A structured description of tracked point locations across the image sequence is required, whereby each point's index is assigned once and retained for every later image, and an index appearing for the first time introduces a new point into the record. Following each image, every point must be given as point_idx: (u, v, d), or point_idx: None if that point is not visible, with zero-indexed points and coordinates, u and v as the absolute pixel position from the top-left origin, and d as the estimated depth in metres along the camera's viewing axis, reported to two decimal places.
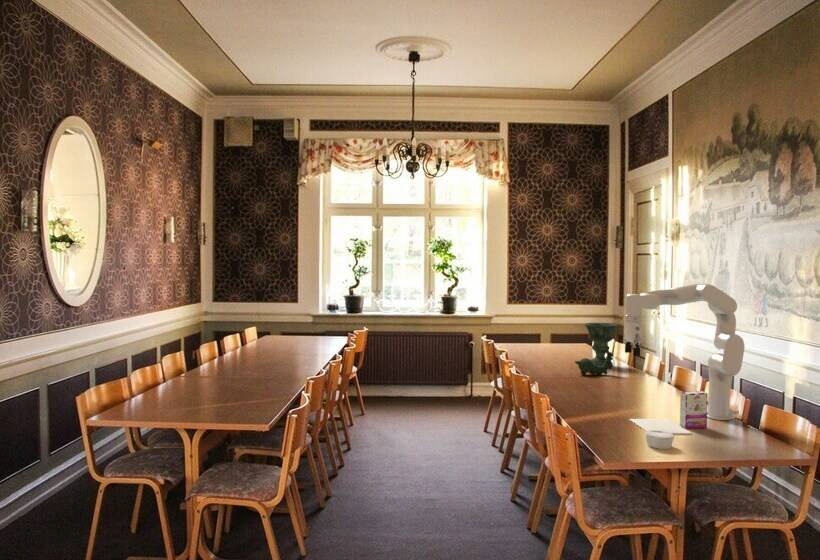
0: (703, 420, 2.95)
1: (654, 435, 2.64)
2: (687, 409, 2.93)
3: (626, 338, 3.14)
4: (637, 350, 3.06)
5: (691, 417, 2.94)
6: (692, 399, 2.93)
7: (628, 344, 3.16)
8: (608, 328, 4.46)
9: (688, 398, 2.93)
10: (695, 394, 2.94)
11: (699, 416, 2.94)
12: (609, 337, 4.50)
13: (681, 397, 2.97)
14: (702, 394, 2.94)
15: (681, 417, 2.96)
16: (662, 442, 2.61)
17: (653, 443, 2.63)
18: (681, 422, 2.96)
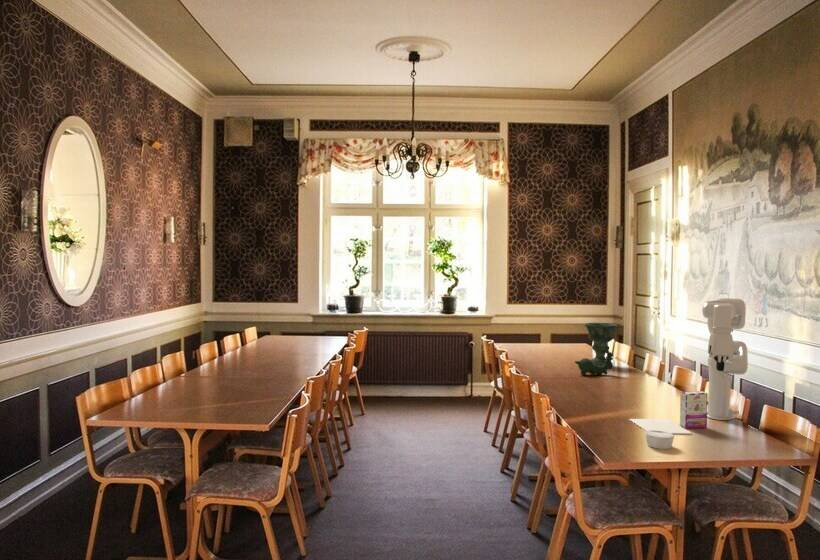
0: (703, 420, 2.95)
1: (654, 435, 2.64)
2: (687, 409, 2.93)
3: (718, 352, 2.93)
4: None
5: (691, 417, 2.94)
6: (692, 399, 2.93)
7: None
8: (608, 328, 4.46)
9: (688, 398, 2.93)
10: (695, 394, 2.94)
11: (699, 416, 2.94)
12: (609, 337, 4.50)
13: (681, 397, 2.97)
14: (702, 394, 2.94)
15: (681, 417, 2.96)
16: (662, 442, 2.61)
17: (653, 443, 2.63)
18: (681, 422, 2.96)
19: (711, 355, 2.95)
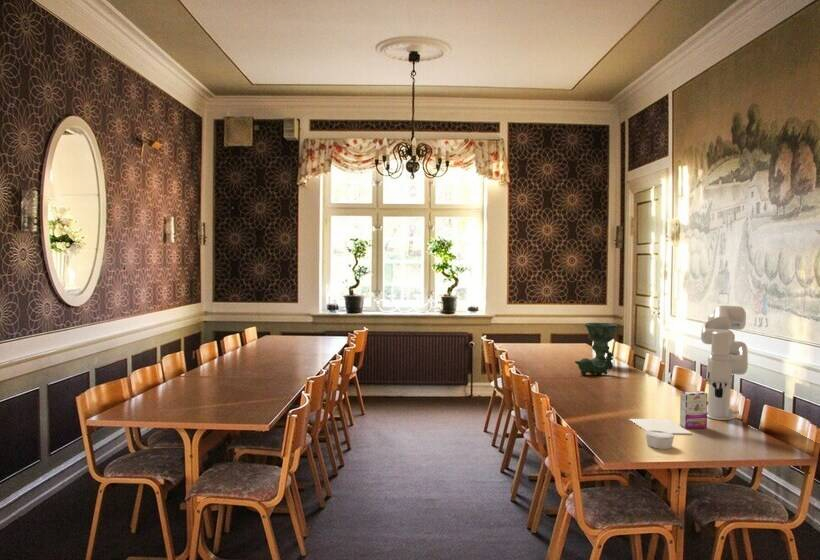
0: (703, 420, 2.95)
1: (654, 435, 2.64)
2: (687, 409, 2.93)
3: (716, 379, 2.94)
4: None
5: (691, 417, 2.94)
6: (692, 399, 2.93)
7: None
8: (608, 328, 4.46)
9: (688, 398, 2.93)
10: (695, 394, 2.94)
11: (699, 416, 2.94)
12: (609, 337, 4.50)
13: (681, 397, 2.97)
14: (702, 394, 2.94)
15: (681, 417, 2.96)
16: (662, 442, 2.61)
17: (653, 443, 2.63)
18: (681, 422, 2.96)
19: (709, 382, 2.96)
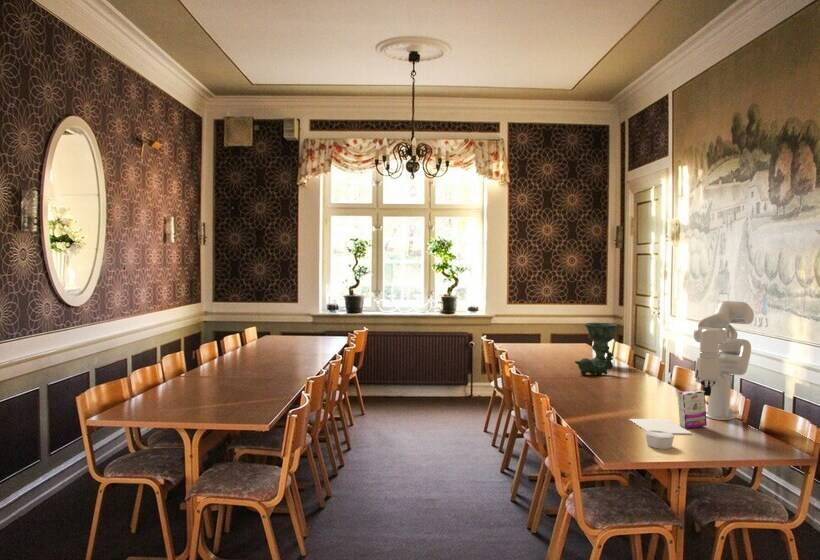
0: (703, 419, 2.95)
1: (654, 435, 2.64)
2: (685, 409, 2.93)
3: (705, 377, 2.93)
4: None
5: (690, 417, 2.93)
6: (690, 399, 2.93)
7: None
8: (608, 328, 4.46)
9: (685, 398, 2.93)
10: (692, 393, 2.93)
11: (698, 415, 2.94)
12: (609, 337, 4.50)
13: (678, 397, 2.96)
14: (699, 393, 2.94)
15: (680, 417, 2.96)
16: (662, 442, 2.61)
17: (653, 443, 2.63)
18: (681, 422, 2.96)
19: (698, 380, 2.95)
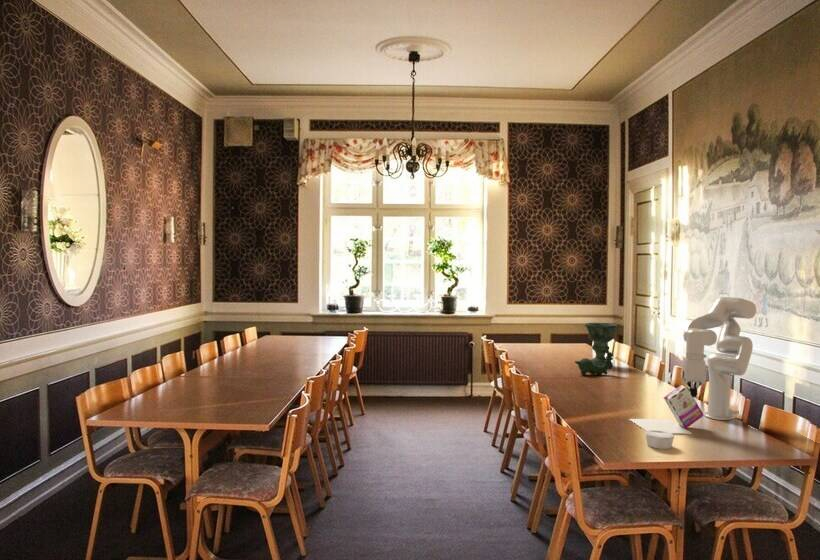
0: (697, 411, 2.94)
1: (654, 435, 2.64)
2: (677, 411, 2.92)
3: (691, 378, 2.93)
4: None
5: (684, 416, 2.93)
6: (677, 400, 2.92)
7: None
8: (608, 328, 4.46)
9: (672, 402, 2.92)
10: (677, 394, 2.92)
11: (692, 410, 2.94)
12: (609, 337, 4.50)
13: (666, 402, 2.96)
14: (683, 390, 2.93)
15: (676, 419, 2.96)
16: (662, 442, 2.61)
17: (653, 443, 2.63)
18: (679, 423, 2.96)
19: (684, 381, 2.95)
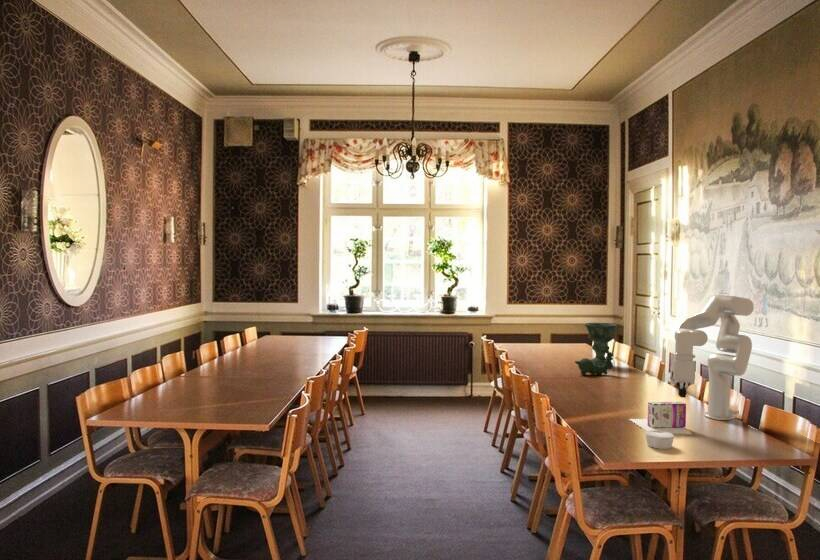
0: (679, 407, 2.93)
1: (654, 435, 2.64)
2: (667, 426, 2.92)
3: (680, 379, 2.93)
4: None
5: (675, 422, 2.92)
6: (658, 421, 2.91)
7: None
8: (608, 328, 4.46)
9: (656, 426, 2.91)
10: (653, 417, 2.91)
11: (674, 412, 2.92)
12: (609, 337, 4.50)
13: None
14: (653, 410, 2.91)
15: None
16: (662, 442, 2.61)
17: (653, 443, 2.63)
18: None
19: (673, 381, 2.95)
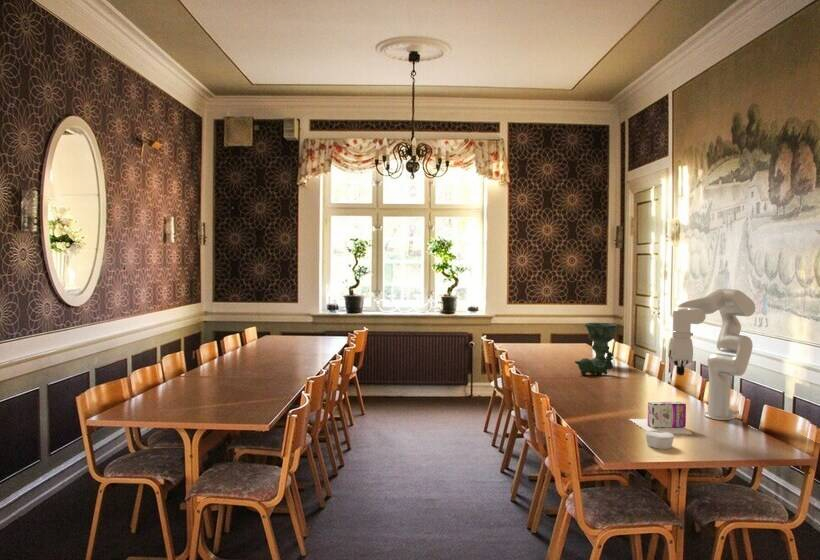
0: (679, 407, 2.93)
1: (654, 435, 2.64)
2: (667, 426, 2.92)
3: (677, 357, 2.93)
4: None
5: (675, 422, 2.92)
6: (658, 421, 2.91)
7: None
8: (608, 328, 4.46)
9: (656, 426, 2.91)
10: (653, 417, 2.91)
11: (674, 412, 2.92)
12: (609, 337, 4.50)
13: None
14: (653, 410, 2.91)
15: None
16: (662, 442, 2.61)
17: (653, 443, 2.63)
18: None
19: (671, 359, 2.94)
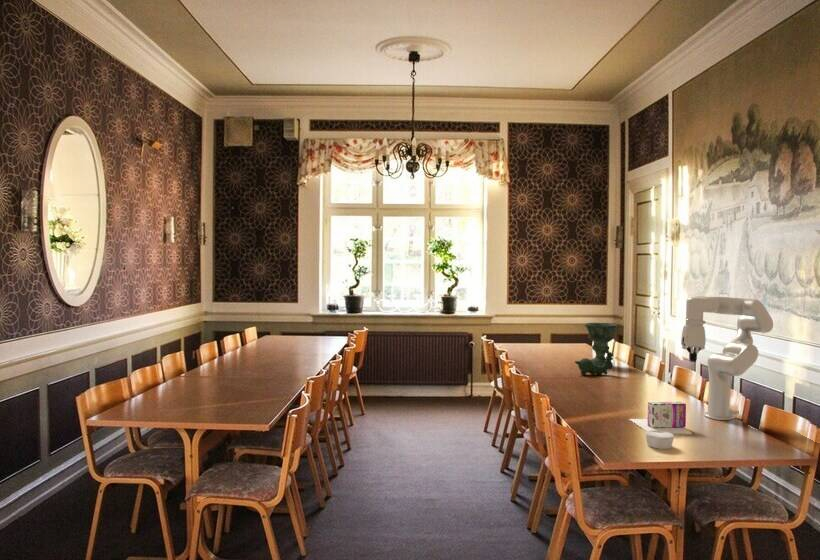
0: (679, 407, 2.93)
1: (654, 435, 2.64)
2: (667, 426, 2.92)
3: (690, 344, 3.03)
4: None
5: (675, 422, 2.92)
6: (658, 421, 2.91)
7: None
8: (608, 328, 4.46)
9: (656, 426, 2.91)
10: (653, 417, 2.91)
11: (674, 412, 2.92)
12: (609, 337, 4.50)
13: None
14: (653, 410, 2.91)
15: None
16: (662, 442, 2.61)
17: (653, 443, 2.63)
18: None
19: (684, 346, 3.05)
